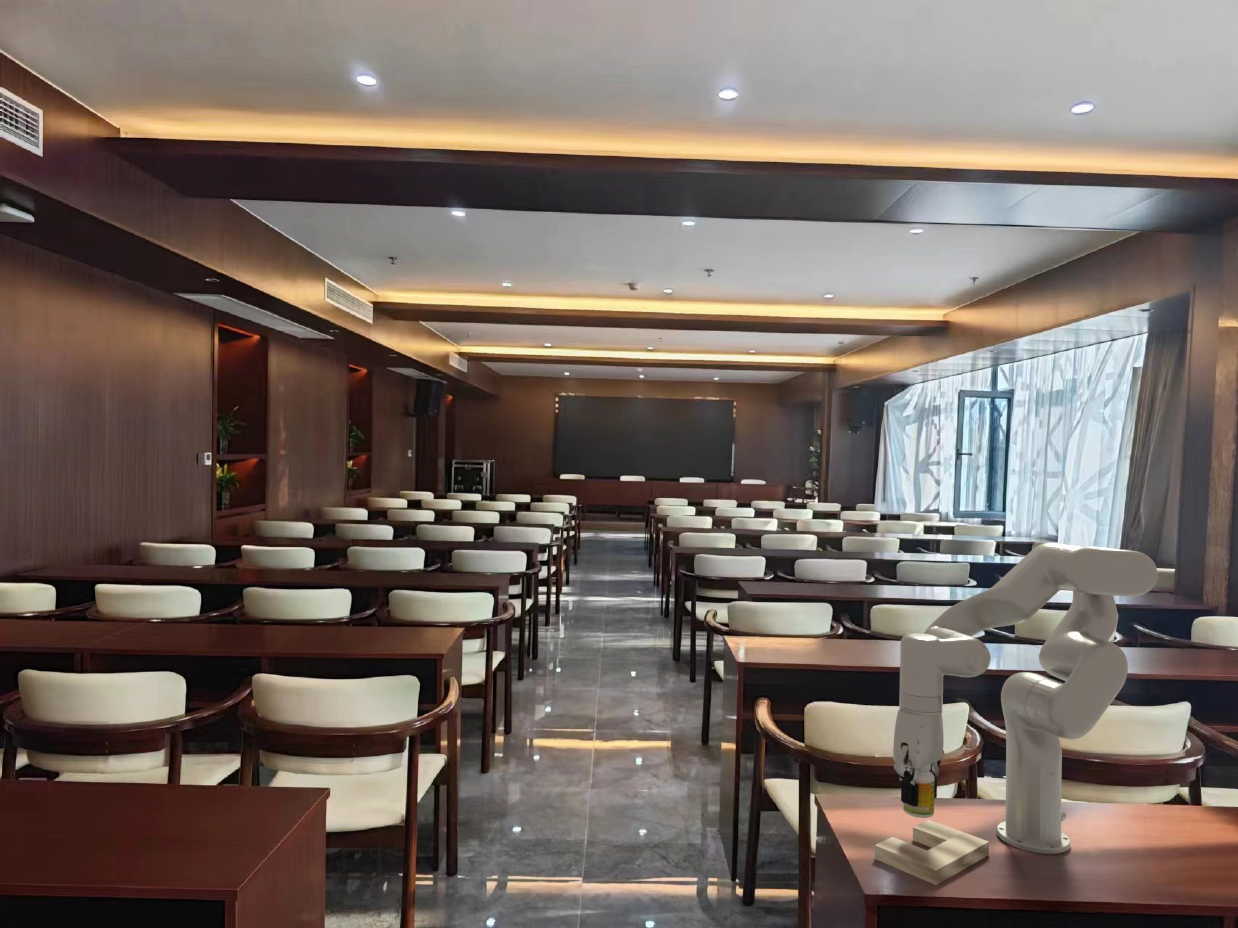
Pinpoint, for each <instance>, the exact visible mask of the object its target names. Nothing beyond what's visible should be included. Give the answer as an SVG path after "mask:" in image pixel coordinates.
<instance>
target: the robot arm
mask: <svg viewBox="0 0 1238 928" xmlns="http://www.w3.org/2000/svg"><path fill="white" fill-rule="evenodd" d="M1157 568H1158V567H1157V566H1156V563H1155V562H1154V561H1153V559H1152V558H1151V557H1149V556H1148V555H1147V554H1145V553H1143V552H1140V551H1137V550H1128V549H1122V548H1121V549H1120V548H1113V547H1105V546H1104V547H1103V546H1093V545H1091V546H1080V545H1071V544H1065V543H1054V542H1052V543H1051V542H1047V543H1046V542H1045V543H1042V544H1039V545H1037V546H1035V547H1034V548H1033V549H1032V550H1031V551H1029V552H1028V553H1027V554H1026V555H1025V556H1024V557H1023V558H1022V559H1021V560H1020V561H1018V563H1017V564H1016V565H1015V566H1013V567H1012V568H1011V569H1010V570H1009V571H1008V572H1007V573H1006V574H1005V575H1004V576H1003V577H1002V578H1000V579H999V580H998V581H997V582H996V583H995V584H994V585H992V587H990V588H989V589H986V590H984V591H980V592H979V593H977V594H974V595H972V596H971V597H968V598H965V599H964V600H962V601H960V602H958V603H956V604H954V605H952V606H951V607H949V608H947V610H944V612H942V614H940V616H939V615H938V617H937V618H936V619H935V620H934V621H932V623H931V624H930V625H928V627H927V628H926V630H924V633H917V632H915V633H914V632H913V633H911V632H910V633H907V634H904V635H903V636H902V638H901V640H900V659H899V661H900V663H899V666H900V667H899V705H898V706H899V709H898V711H897V714H896V719H895V725H894V726H895V727H894V735H893V747H892V760H893V762H894V764H893V769H894V770H895V772H896V773H897V775H898V776H899V781H900V783H901V784H900V788H901V789H900V801H901V802H902V804H903V803H906V804H909V805H911V806H914V807H916V806H918V794H919V785H918V784H916V782H917V777H918V772H919V768H921V767H924V766H926V765H929V764H931V769H930V770H929V771H930V772H931V773H932V774H933V775H934V780H935V782H934V800H935V799H937V796H938V776H939V775H940V774H939V773H940V771H939V767H940V765H941V764H942V763H941V761H942V760H943V759H942V758H944V756H945V750H944V742H945V741H944V740H945V739H944V724H943V723H944V722H943V703H944V701H943V700H944V699H943V698H944V697H943V696H944V695H943V694H944V693H943V692H944V676H945V675H946V676H955V677H959V678H960V677H961V678H973V677H974V678H975V677H978V676H980V675H982V674H984V673H985V672H986V671H987V670H988V669H989V666H990V664H991V660H992V659H991V652H990V650H989V648H988V646H986V644H985V643H984V642H983V641H982V640H980V639H978V638H976V637H974V636H975V635H976V634H978V633H980V632H983V631H984V632H985V631H987V630H989V629H994V628H999V627H1007V626H1013V625H1017V624H1022V623H1025V622H1028V621H1029V620H1031V618H1032V617H1033V616H1035V614H1036V613H1038V612H1039V610H1041V609H1042V608H1043V607H1044V606H1045V605H1046V604H1047V603H1048V602H1049V601H1050V600H1051V599H1052V598H1053V597H1054V596H1055V595H1057V594H1058V593H1059V592H1060V591H1063V590H1066V591H1071V592H1072V601H1071V605H1070V606H1069V609H1068V610H1067V612H1066V613H1065V614H1064V616H1063V618H1062V619H1060V622H1059V623H1058V624H1057V626H1056V627H1055V628H1054V630H1052V632H1051V633H1050V635H1049V636H1048V638H1047V639H1046V640H1045V642H1044V643H1043V644H1042V646H1041V648H1040V652H1039V653H1038V662H1039V664H1040V666H1041V668H1042V669H1043V670H1044V671H1045V672H1046V673H1047V674H1049V675H1051V676H1053V677H1054V678H1057V679H1060V680H1062V681H1064V682H1061V681H1058V680H1056V679H1054V678H1050V677H1047V676H1045V675H1042V674H1039V673H1036V672H1035V673H1034V672H1031V671H1030V672H1028V671H1026V672H1025V671H1023V672H1017V673H1014V674H1013V675H1010V676H1009V677H1008V678H1006V680H1005V681H1004V683H1003V685H1002V688H1001V692H1000V701H1001V708H1002V714H1003V717H1004V724H1005V740H1006V741H1005V742H1006V743H1005V744H1006V749H1005V752H1006V754H1005V820H1004V821H1002V822H1000V823H998V825H997V826H996V834H997V836H998V837H999V839H1001V841H1002V842H1004V843H1006V844H1008V845H1010V846H1012V847H1013V848H1017V849H1019V850H1023V851H1025V852H1030V853H1035V854H1037V853H1038V854H1042V855H1043V854H1045V855H1055V854H1056V855H1057V854H1062V853H1065V852H1067V851H1069V849H1070V848H1071V839H1070V837H1069V836H1068V835H1067V834H1066V833H1064V832H1063V831H1062V822H1063V821H1064V820H1066V818H1067V814H1066V811H1064V810H1062V775H1063V774H1062V768H1063V767H1062V763H1063V755H1062V753H1063V751H1062V745H1061V741H1060V738H1061V739H1066V740H1078V739H1081V738H1083V737H1085V736H1086V735H1087V734H1089V732H1090V731H1092V729H1093V728H1094V727H1095V726H1096V725H1097V723H1098V722H1099V720H1100V719H1101V718H1102V716H1103V715H1104V714H1105V712H1106V711H1107V709H1109V708H1110V706H1111V704H1112V703H1113V701H1114V700H1115V698H1116V697H1117V695H1118V694H1119V693H1120V691H1121V689H1122V688H1123V687H1124V685H1125V683H1126V681H1127V676H1128V671H1129V661H1128V658H1127V656H1126V654H1125V652H1124V651H1123V649H1122V648H1121V647H1119V646H1118V645H1117V644H1115V643H1113V642H1111V641H1110V639H1111V637H1112V636H1113V634H1114V633H1115V630H1116V629H1117V625H1118V622H1119V614H1118V608H1117V605H1116V600H1115V597H1116V596H1118V597H1140V596H1143V595H1146V594H1147V593H1150V591H1152V590H1153V588H1154V587H1155V585H1156V583H1157V581H1158V576H1159V575H1158V569H1157ZM1114 596H1115V597H1114ZM908 761H910V762H912V765H909V764H908ZM908 768H910V769H913V770H912V775H911V774H910V772H909V771H907V769H908Z"/></svg>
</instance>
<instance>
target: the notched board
mask: <svg viewBox="0 0 1238 928" xmlns="http://www.w3.org/2000/svg"><path fill="white" fill-rule="evenodd" d="M912 841H914V842H916V843H918V844H921V845H923V846H926V847H928V848H929V849H928V850H927V849H924V848H922V847H919V846H917V845H914V844H911V843H909V842H907V841H904V840H902V839H900V838H897V837H894V836H891V837H889V838H886V839H885V840H883V841H880V842H878V843H877V844H875V845H874V860H877V861H879V862H880V863H881V862H882V863H883V864H886V865H887V866H888V865H889V866H890V867H893V868H895V869H898V870H900V871H902V872H904V873H906V874H909V875H911V876H913V877H916V878H919V879H920V880H923V881H925V882H928V883H930V884H932V885H935V886H937V885H939V884H941V883H942V882H945V881H946V880H948V879H949V878H951V877H954V876H956V874H958V873H960V872H962V871H963V870H965V869H967V868H969V867H971V866H972V865H974V864H976V863H978V862H979V860H980V861H982V860H983V859H985V858H987V857H989V856H990V841H989V840H986V839H983V838H980V837H977V836H975V835H972V834H969V833H966V832H965V831H961V830H958V829H956V828H953V827H950V826H947V825H944V824H941V823H939V822H936V821H933V820H930V819H927V820H925V821H923V822H921V823H919V824H916V825H915V826H913V827H912ZM988 855H989V856H988ZM986 856H987V857H986Z"/></svg>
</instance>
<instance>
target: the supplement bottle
mask: <svg viewBox="0 0 1238 928" xmlns="http://www.w3.org/2000/svg"><path fill="white" fill-rule="evenodd" d="M908 764H909V765H912V762H910V761H908ZM930 769H931V764H929V765H926V766H924V767H921V768H919V772H918V777H917V782H916V784H918V785H919V794H918V806H916V807H914V806H911V805H909V804H906V803H903V802H902V810H903V812H904V813H905V814H907V815H909V816H911V817H914V818H920V819H928V818H932V817H933V816H934V814H935V799H934V782H935V780H934V775H933V774H932V773H931V772H930V771H929V770H930ZM912 770H913V769H910V768H908V769H907V771H909V772H910V774H911V775H912Z"/></svg>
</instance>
